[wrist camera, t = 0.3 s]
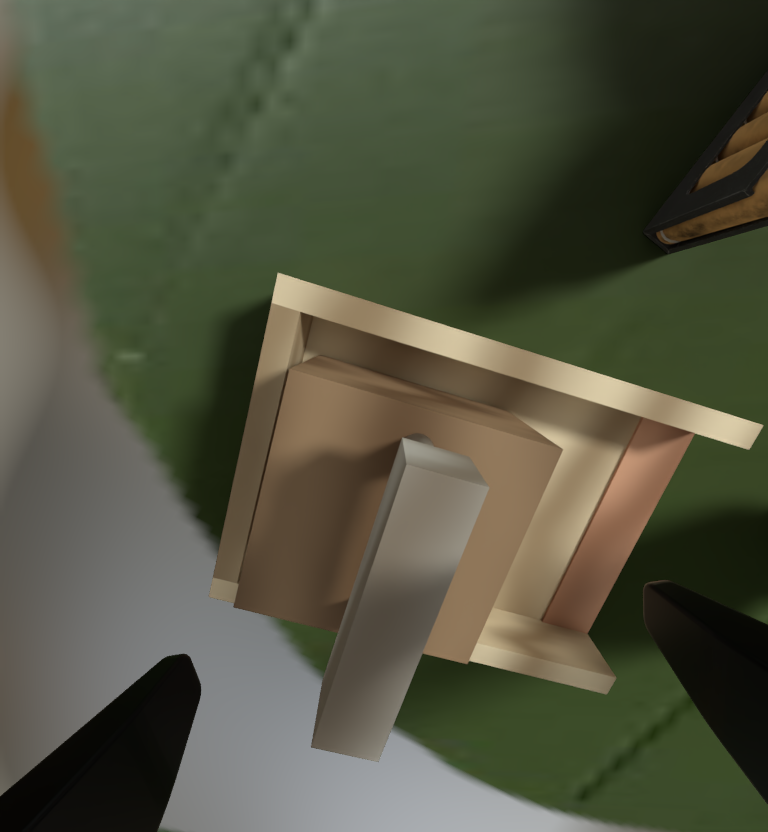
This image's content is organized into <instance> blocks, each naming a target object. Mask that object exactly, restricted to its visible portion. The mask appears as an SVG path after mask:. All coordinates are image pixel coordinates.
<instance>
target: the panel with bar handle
mask: <svg viewBox="0 0 768 832" xmlns="http://www.w3.org/2000/svg"><path fill="white" fill-rule="evenodd" d="M562 451H563V449H562V448H560V447H559V446H558V445H556V444H555V443H553V442H552V441H550V440H549V439H547V438H546V437H545V436H543V435H542V434H540V433H539V432H537V431H536V430H534V429H533V428H531V427H530V426H529V425H527V424H526V423H524V422H523V421H521V420H520V419H518V418H517V417H516V416H514V415H513V414H511V413H510V412H508V411H507V410H503V409H500V408H497V407H493V406H490V405H487V404H483V403H480V402H477V401H473V400H470V399H467V398H463V397H460V396H457V395H453V394H450V393H447V392H443V391H440V390H437V389H433V388H430V387H427V386H423V385H420V384H417V383H413V382H410V381H407V380H403V379H400V378H397V377H393V376H390V375H387V374H383V373H380V372H377V371H373V370H370V369H367V368H363V367H360V366H357V365H353V364H350V363H347V362H343V361H340V360H337V359H333V358H330V357H327V356H323V355H318V356H316V357H314V358H312V359H309V360H307V361H305V362H303V363H301V364H299V365H296V366H294V367H292V368H290V369H289V373H288V377H287V381H286V386H285V390H284V394H283V398H282V403H281V407H280V411H279V415H278V420H277V424H276V428H275V432H274V437H273V441H272V445H271V449H270V454H269V458H268V462H267V466H266V471H265V475H264V479H263V483H262V488H261V492H260V496H259V500H258V505H257V509H256V513H255V517H254V522H253V526H252V530H251V534H250V538H249V543H248V547H247V551H246V555H245V560H244V564H243V568H242V572H241V577H240V581H239V585H238V589H237V594H236V598H235V602H234V608H239V609H243V610H247V611H251V612H255V613H259V614H263V615H267V616H271V617H275V618H280V619H284V620H288V621H292V622H296V623H300V624H304V625H308V626H312V627H317V628H321V629H325V630H329V631H333V632H337V633H338V635H337V638H336V641H335V644H334V647H333V650H332V653H331V656H330V659H329V662H328V665H327V668H326V671H325V674H324V677H323V681H322V686H321V692H320V698H319V704H318V710H317V716H316V721H315V728H314V733H313V739H312V745H311V747H312V748H316V749H321V750H326V751H330V752H335V753H339V754H344V755H349V756H353V757H358V758H362V759H367V760H371V761H376V762H379V759H380V757H381V754H382V752H383V749H384V747H385V744H386V742H387V739H388V737H389V734H390V732H391V729H392V727H393V725H394V722H395V720H396V717H397V715H398V712H399V710H400V707H401V705H402V702H403V700H404V697H405V695H406V692H407V690H408V687H409V685H410V683H411V680H412V678H413V675H414V673H415V670H416V668H417V665H418V663H419V660H420V658H421V655H422V653H423V654H427V655H431V656H436V657H440V658H444V659H448V660H452V661H456V662H460V663H464V664H468V662H469V659H470V657H471V655H472V653H473V650H474V648H475V646H476V644H477V641H478V639H479V637H480V635H481V632H482V630H483V628H484V626H485V624H486V621H487V619H488V617H489V615H490V612H491V610H492V608H493V606H494V603H495V601H496V599H497V597H498V594H499V592H500V590H501V588H502V586H503V583H504V581H505V579H506V577H507V574H508V572H509V570H510V568H511V565H512V563H513V561H514V559H515V556H516V554H517V552H518V550H519V547H520V545H521V543H522V541H523V539H524V536H525V534H526V532H527V530H528V527H529V525H530V523H531V521H532V518H533V516H534V514H535V512H536V509H537V507H538V505H539V503H540V501H541V498H542V496H543V494H544V492H545V489H546V487H547V485H548V483H549V480H550V478H551V476H552V474H553V471H554V469H555V467H556V465H557V463H558V460H559V458H560V456H561V454H562Z"/></svg>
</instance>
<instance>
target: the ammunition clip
mask: <svg viewBox="0 0 768 832" xmlns="http://www.w3.org/2000/svg"><path fill="white" fill-rule="evenodd" d="M765 226H768V70H767V71H766V73H765V74H764V75H763V77H762V78H761V79H760V80H759V82H758V83H757V84H756V86H755V87H754V88H753V89H752V91H751V92H750V93H749V95H748V96H747V97H746V98H745V100H744V101H743V102H742V104H741V105H740V106H739V107H738V109H737V110H736V111H735V113H734V114H733V115H732V117H731V118H730V119H729V120H728V122H727V123H726V124H725V126H724V127H723V128H722V129H721V131H720V132H719V133H718V135H717V136H716V137H715V138H714V140H713V141H712V142H711V144H710V145H709V146H708V148H707V149H706V150H705V151H704V153H703V154H702V155H701V157H700V158H699V159H698V160H697V162H696V163H695V164H694V166H693V167H692V168H691V169H690V171H689V172H688V173H687V175H686V176H685V177H684V179H683V180H682V181H681V182H680V184H679V185H678V186H677V188H676V189H675V190H674V191H673V193H672V194H671V195H670V197H669V198H668V199H667V200H666V202H665V203H664V204H663V206H662V207H661V208H660V209H659V211H658V212H657V213H656V215H655V216H654V217H653V219H652V220H651V221H650V222H649V224H648V225H647V226H646V228H645V229H644V230H643V232H644V234H645V235H646V236H647V237H648V238H650V239H651V240H652V241H653V242H654V243H656V244H657V245H658V246H659V247H660V248H662V249H663V250H664V251H665V252H666V253H667V254H671V253H675V252H678V251H682V250H685V249H689V248H692V247H696V246H699V245H703V244H706V243H710V242H713V241H717V240H720V239H723V238H727V237H730V236H734V235H737V234H741V233H744V232H748V231H751V230H755V229H758V228H762V227H765Z"/></svg>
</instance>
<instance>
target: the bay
mask: <svg viewBox="0 0 768 832" xmlns="http://www.w3.org/2000/svg"><path fill="white" fill-rule="evenodd" d="M318 355H323V356H327V357H330V358H333V359H337V360H340V361H343V362H347V363H350V364H353V365H357V366H360V367H363V368H367V369H370V370H373V371H377V372H380V373H383V374H387V375H390V376H393V377H397V378H400V379H403V380H407V381H410V382H413V383H417V384H420V385H423V386H427V387H430V388H433V389H437V390H440V391H443V392H447V393H450V394H453V395H457V396H460V397H463V398H467V399H470V400H473V401H477V402H480V403H483V404H487V405H490V406H493V407H497V408H500V409H503V410H507V411H508V412H510V413H511V414H513V415H514V416H516V417H517V418H518V419H520V420H521V421H523V422H524V423H526V424H527V425H529V426H530V427H531V428H533V429H534V430H536V431H537V432H539V433H540V434H542V435H543V436H545V437H546V438H547V439H549V440H550V441H552V442H553V443H555V444H556V445H558V446H559V447H560V448H562V449H563V451H562V454H561V456H560V458H559V460H558V463H557V465H556V467H555V469H554V471H553V474H552V476H551V478H550V480H549V483H548V485H547V487H546V489H545V492H544V494H543V496H542V498H541V501H540V503H539V505H538V507H537V509H536V512H535V514H534V516H533V518H532V521H531V523H530V525H529V527H528V530H527V532H526V534H525V536H524V539H523V541H522V543H521V545H520V547H519V550H518V552H517V554H516V556H515V559H514V561H513V563H512V565H511V568H510V570H509V572H508V574H507V577H506V579H505V581H504V583H503V586H502V588H501V590H500V592H499V594H498V597H497V599H496V601H495V603H494V606H493V608H492V610H491V612H490V615H489V617H488V619H487V621H486V624H485V626H484V628H483V630H482V632H481V635H480V637H479V639H478V641H477V644H476V646H475V648H474V650H473V653H472V655H471V657H470V659H469V661H472V662H476V663H481V664H485V665H489V666H493V667H497V668H501V669H505V670H509V671H513V672H517V673H521V674H526V675H530V676H534V677H538V678H542V679H546V680H550V681H554V682H558V683H562V684H566V685H571V686H575V687H579V688H583V689H587V690H591V691H595V692H599V693H603V694H607V693H608V692H609V690H610V688H611V686H612V685H613V683H614V681H615V680H616V676H615V675H614V673H613V672H612V670H611V669H610V667H609V666H608V664H607V663H606V661H605V660H604V658H603V657H602V655H601V654H600V652H599V651H598V649H597V648H596V646H595V644H594V643H593V641H592V640H591V638H590V637H589V635H588V632H589V630H590V628H591V626H592V624H593V622H594V621H595V619H596V617H597V615H598V613H599V611H600V609H601V608H602V606H603V604H604V602H605V600H606V598H607V596H608V594H609V593H610V591H611V589H612V587H613V585H614V583H615V581H616V580H617V578H618V576H619V574H620V572H621V570H622V568H623V567H624V565H625V563H626V561H627V559H628V557H629V555H630V553H631V552H632V550H633V548H634V546H635V544H636V542H637V540H638V539H639V537H640V535H641V533H642V531H643V529H644V527H645V525H646V524H647V522H648V520H649V518H650V516H651V514H652V512H653V511H654V509H655V507H656V505H657V503H658V501H659V499H660V497H661V496H662V494H663V492H664V490H665V488H666V486H667V484H668V483H669V481H670V479H671V477H672V475H673V473H674V471H675V470H676V468H677V466H678V464H679V462H680V460H681V458H682V456H683V455H684V453H685V451H686V449H687V447H688V445H689V443H690V442H691V440H692V438H693V436H694V434H695V433H696V434H699V435H703V436H706V437H709V438H712V439H716V440H719V441H722V442H725V443H729V444H732V445H735V446H738V447H742V448H745V449H748V450H749V449H750V447H751V446H752V444H753V442H754V441H755V439H756V437H757V435H758V434H759V432H760V430H761V429H762V427H763V425H761V424H758V423H754V422H751V421H748V420H745V419H742V418H739V417H735V416H732V415H729V414H726V413H723V412H719V411H716V410H713V409H710V408H707V407H704V406H700V405H697V404H694V403H691V402H688V401H684V400H681V399H678V398H675V397H672V396H669V395H665V394H662V393H659V392H656V391H653V390H649V389H646V388H643V387H640V386H637V385H634V384H630V383H627V382H624V381H621V380H618V379H614V378H611V377H608V376H605V375H602V374H599V373H595V372H592V371H589V370H586V369H583V368H579V367H576V366H573V365H570V364H567V363H564V362H560V361H557V360H554V359H551V358H548V357H544V356H541V355H538V354H535V353H532V352H529V351H525V350H522V349H519V348H516V347H513V346H509V345H506V344H503V343H500V342H497V341H494V340H490V339H487V338H484V337H481V336H478V335H474V334H471V333H468V332H465V331H462V330H458V329H455V328H452V327H449V326H446V325H443V324H439V323H436V322H433V321H430V320H427V319H423V318H420V317H417V316H414V315H411V314H408V313H404V312H401V311H398V310H395V309H392V308H388V307H385V306H382V305H379V304H376V303H373V302H369V301H366V300H363V299H360V298H357V297H353V296H350V295H347V294H344V293H341V292H338V291H334V290H331V289H328V288H325V287H322V286H318V285H315V284H312V283H309V282H306V281H303V280H299V279H296V278H293V277H290V276H287V275H283V274H280V273H278V275H277V280H276V284H275V289H274V294H273V299H272V303H271V308H270V313H269V317H268V322H267V327H266V331H265V336H264V341H263V345H262V350H261V355H260V359H259V364H258V369H257V373H256V378H255V383H254V387H253V392H252V397H251V401H250V406H249V411H248V415H247V420H246V425H245V430H244V434H243V439H242V444H241V448H240V453H239V458H238V462H237V467H236V472H235V476H234V481H233V486H232V490H231V495H230V500H229V504H228V509H227V514H226V518H225V523H224V528H223V532H222V537H221V542H220V546H219V551H218V556H217V561H216V565H215V570H214V575H213V580H212V584H211V589H210V593H209V597H211V598H215V599H219V600H223V601H227V602H231V603H234V602H235V598H236V594H237V589H238V585H239V581H240V577H241V572H242V568H243V564H244V560H245V555H246V551H247V547H248V543H249V538H250V534H251V530H252V526H253V522H254V517H255V513H256V509H257V505H258V500H259V496H260V492H261V488H262V483H263V479H264V475H265V471H266V466H267V462H268V458H269V454H270V449H271V445H272V441H273V437H274V432H275V428H276V424H277V420H278V415H279V411H280V407H281V403H282V398H283V394H284V390H285V386H286V381H287V377H288V373H289V369H290V368H292V367H294V366H296V365H299V364H301V363H303V362H305V361H307V360H309V359H312V358H314V357H316V356H318Z"/></svg>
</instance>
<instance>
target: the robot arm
mask: <svg viewBox="0 0 768 832" xmlns="http://www.w3.org/2000/svg"><path fill="white" fill-rule="evenodd" d="M643 616H644V622H645V625H646V628H647V630H648V632H649V633H650V635H651V637H652V638H653V640H654V641H655V643H656V644H657V646H658V648H659V649H660V651H661V652H662V654H663V655H664V657H665V659H666V660H667V662H668V663H669V665H670V666H671V668H672V670H673V671H674V673H675V674H676V676H677V677H678V679H679V681H680V682H681V684H682V685H683V687H684V688H685V690H686V692H687V693H688V695H689V696H690V698H691V699H692V701H693V702H694V704H695V706H696V707H697V709H698V710H699V712H700V713H701V715H702V716H703V718H704V719H705V721H706V722H707V724H708V725H709V727H710V728H711V729H712V731H713V732H714V734H715V735H716V736H717V738H718V739H719V740H720V742H721V743H722V745H723V746H724V747H725V749H726V750H727V751H728V753H729V754H730V755H731V756H732V758H733V759H734V760H735V762H736V763H737V764H738V766H739V767H740V768H741V770H742V771H743V772H744V774H745V775H746V776H747V778H748V779H749V780H750V782H751V783H752V784H753V786H754V787H755V788H756V790H757V791H758V792H759V794H760V795H761V796H762V798H763V799H764V800H765V802H766V803H767V804H768V625H767V624H765V623H763V622H761V621H758V620H756V619H754V618H752V617H750V616H747V615H745V614H743V613H741V612H739V611H736V610H734V609H732V608H730V607H728V606H725V605H723V604H721V603H719V602H717V601H714V600H712V599H710V598H708V597H705V596H703V595H701V594H699V593H697V592H694V591H692V590H690V589H688V588H686V587H683V586H681V585H679V584H677V583H675V582H672V581H669V580H661V581H655V582H649V583H646V584H645V585H644V588H643ZM200 696H201V684H200V681H199V678H198V676H197V673H196V671H195V668H194V666H193V663H192V661H191V658H190V657H189V656H188V655H187V654H179V655H172V656H167V657H165V658H164V659H162V660H161V661H160V662H159V663H157V664H156V665H155V666H154V667H153V668H151V669H150V670H149V671H148V672H147V673H145V675H143V676H142V677H141V678H140V679H138V680H137V681H136V682H135V683H134V684H132V685H131V686H130V687H129V688H128V689H126V690H125V691H124V692H123V693H122V694H121V695H119V696H118V697H117V698H116V699H115V700H114V701H112V702H111V703H110V704H109V705H108V706H106V707H105V708H104V709H103V710H102V711H101V712H99V713H98V714H97V715H96V716H95V717H93V718H92V719H91V720H90V721H89V722H88V723H87V724H85V725H84V726H83V727H82V728H80V729H79V730H78V731H77V732H76V733H74V734H73V735H72V736H71V737H70V738H69V739H67V740H66V741H65V742H64V743H63V744H61V745H60V746H59V747H58V748H57V749H56V750H54V751H53V752H52V753H51V754H50V755H48V756H47V757H46V758H45V759H44V760H43V761H41V762H40V763H39V764H38V765H37V766H35V767H34V768H33V769H32V770H31V771H30V772H28V773H27V774H26V775H25V776H24V777H22V778H21V779H20V780H19V781H18V782H16V783H15V784H14V785H13V786H12V787H11V788H9V789H8V790H7V791H6V792H5V793H3V794H2V795H1V796H0V832H157V831H158V828H159V826H160V823H161V820H162V818H163V815H164V812H165V809H166V807H167V804H168V801H169V798H170V795H171V792H172V789H173V786H174V783H175V780H176V777H177V773H178V770H179V767H180V764H181V760H182V757H183V754H184V750H185V746H186V743H187V740H188V737H189V734H190V730H191V727H192V724H193V720H194V717H195V713H196V710H197V707H198V704H199V701H200Z"/></svg>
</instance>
